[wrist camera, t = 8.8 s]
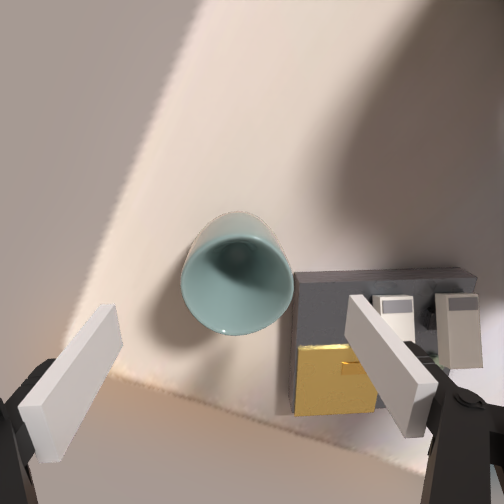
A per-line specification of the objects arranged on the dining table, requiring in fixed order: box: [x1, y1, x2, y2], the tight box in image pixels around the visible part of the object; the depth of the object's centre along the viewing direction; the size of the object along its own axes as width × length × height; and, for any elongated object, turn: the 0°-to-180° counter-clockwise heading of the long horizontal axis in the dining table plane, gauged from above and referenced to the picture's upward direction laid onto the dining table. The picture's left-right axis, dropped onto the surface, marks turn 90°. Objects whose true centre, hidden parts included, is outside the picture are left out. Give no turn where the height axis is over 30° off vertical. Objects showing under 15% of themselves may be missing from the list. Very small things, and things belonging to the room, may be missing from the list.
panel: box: [288, 268, 477, 417], centre depth 33 cm, size 17×18×3 cm
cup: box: [180, 211, 294, 336], centre depth 25 cm, size 8×8×10 cm
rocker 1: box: [372, 294, 415, 343], centre depth 28 cm, size 7×3×2 cm, turn 179°
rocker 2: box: [435, 292, 483, 369], centre depth 29 cm, size 7×3×2 cm, turn 179°
